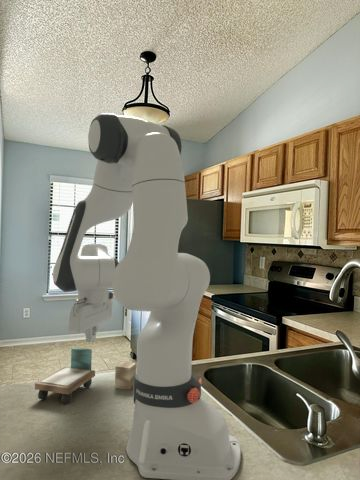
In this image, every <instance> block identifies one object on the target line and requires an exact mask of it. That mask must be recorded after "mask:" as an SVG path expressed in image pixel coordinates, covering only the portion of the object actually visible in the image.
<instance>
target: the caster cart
mask: <svg viewBox="0 0 360 480" xmlns="http://www.w3.org/2000/svg"><path fill="white" fill-rule="evenodd" d="M92 351H93V349H92V348H91V349H90V348H82V347H72V348H71V354H70V356H71V357H70V367H69V366H63V367H62V368H59V369H58V370H56V371H54V372H53V373H51V374H49V375H47V376H46V377H44V378H41V379H40V380H38V381H36V382H35V383H34V390H38V393H37V398H38V399H39V400H46V399H47V398H48V395H49V392H50V393H57V394H62V395H61V402H62V404H69V403H70V401H71V400H72V393H73V392H74V391H76V390H77V389H78V388H80V387H81V386H83V388H85V389H86V388H87V389H90V387H91V386H92V383H93V382H92V380H93V378H95V376H96V370H93V369H92V354H93V353H92Z"/></svg>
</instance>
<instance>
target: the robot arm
mask: <svg viewBox="0 0 360 480" xmlns="http://www.w3.org/2000/svg"><path fill="white" fill-rule="evenodd" d="M87 134H88V135H87V137H88V138H87V140H88V142H87V143H88V148H89V152H90V153H91V155H92V156H93V157H94V158H95V159H96V160H97V163H96V167H95V171H94V175H93V182H92V186H91V189H90V192H89V193H88V195H87V196H86V197H85V199H82V200H80V201H78V203H77V204H76V206H75V208H74V210H73V213H72V215H71V217H70V221H69V224H68V228H67V229H66V230H67V231H66V233H65V237H64V239H63V240H64V241H63V243H62V246H61V249H60V252H59V253H58V255H57V259H56V262H55V264H54V266H53V270H52V280H53V283H54V285H55V287H57V288H58V289H59V290H61V291H62V292H64V293H67V292H68V293H69V292H77V299H76V300H75V303H73V304H72V307H71V308H70V311H69V316H68V326H67V327H68V330H69V332H70V333H75V334H81V333H82V332H84V334H85V342H88V343H90V342H92V341H95V340H96V338H97V334H98V330H99V325H101V324H103V323H105V322H108V321H110V320H111V318H112V315H113V299H114V298H115V299H116V301H117V302H118V303H119V304H120V305H121V306H122V307H123V308H125V309H126V310H129V311H136V312H149V315H148V318H147V321H146V323H145V324H144V327H143V328H142V329H141V331H140V332H139V334H138V336H137V341H136V375H135V377H134V386H133V387H132V388H133V389H132V390H133V391H132V392H133V403H134V411H133V415H132V416H133V418H132V424H131V429H130V432H129V437H128V441H127V444H126V446H125V447H126V450H125V451H126V454H127V456H128V459H129V460H131V461H132V462H133V463H134V464H135V465H136V466H137V468H138V472H139V474H140V475H141V477H143V478H146V479H161V480H232V479H233V478H234V477H235V475H236V474H237V472H238V471H239V468H240V464H241V459H242V454H241V453H242V452H241V445H240V443H239V441H238V439H237V438H236V437H235V436H234V435H231V434H230V433H229V428H228V427H229V426H228V423H227V419H226V417H225V415H224V414H223V413H221V412H220V411H219V410H218V409H217V408H216V407H215V406H213V405H212V404H211V403H210V402H209V401H208V400H206V399H205V398H204V397H203V396H202V377H200V378H199V380H197V378H196V377H194V375H193V374H192V361H193V360H192V359H193V339H194V332H195V327H196V322H197V319H198V315H199V310H200V307H201V306H200V305H201V302H202V299H203V297H204V295H205V293H206V291H207V290H208V288H209V285H210V282H211V274H210V269H209V268H208V265H207V263H205V261H204V260H202V259H200V257H197V256H196V255H195V256H194V255H192V254H189V253H185V252H178V251H179V243H180V237H181V234H182V231H183V229H184V228H185V227H186V226H187V223H188V221H189V216H188V203H187V191H186V181H185V172H184V167H183V162H182V158H181V157H182V156H181V154H182V140H181V136H180V134H179V133H178V131H176V130H175V129H174V128H172V127H170V126H167V125H163V124H158V123H155V122H152V121H149V120H147V119H146V120H145V119H143V118H139V117H135V116H129V115H119V114H115V113H107V112H106V113H99V114H97V115H96V116H95V117H94V118H93V119H92V121H91V123H90V125H89V128H88V133H87ZM132 205H133V211H132V212H133V227H132V228H133V229H132V233H131V237H130V238H131V239H130V242H129V246H128V249H127V251H126V254H125V255H124V256H123V258H122V259H121V260H120V261H118V260H117V258H115V257H112V256H111V255H110V254H109V251H108V247H107V245H105V244H101V243H91V244H89V243H88V244H85V245H83V246H82V243H83V240H84V238H85V235H86V233H87V231H89V230H90V229H92V228H93V227H95V226H97V225H100V224H102V223H103V224H104V223H107V222H110V221H114V220H117V219H119V218H121V217H123V216H125V215H126V214H127V213H128V212H129V211H130V210H131V208H132ZM81 246H82V248H81ZM80 250H81V252H80ZM79 252H80V255H79ZM109 289H112V291H110V290H109Z"/></svg>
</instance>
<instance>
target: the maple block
mask: <svg viewBox="0 0 360 480" xmlns="http://www.w3.org/2000/svg"><path fill="white" fill-rule="evenodd" d="M114 374H115V376H114V379H115V382H114V387H115V388H116V389H117V388H118V389H124V390H131V389H132V388H133V387H134V377H135V375H136V374H137V362H130V361H121V362H119V363H118V364H117V365H116V366H115V373H114Z"/></svg>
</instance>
